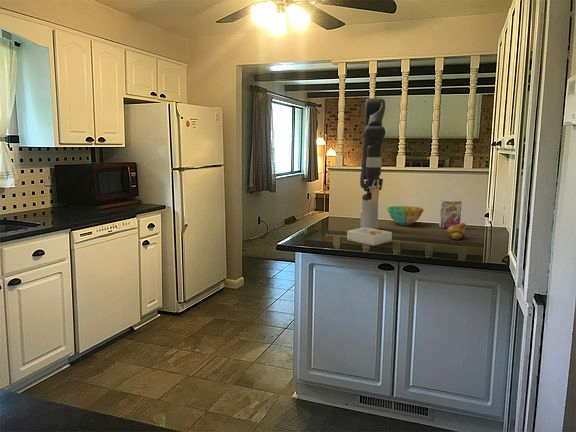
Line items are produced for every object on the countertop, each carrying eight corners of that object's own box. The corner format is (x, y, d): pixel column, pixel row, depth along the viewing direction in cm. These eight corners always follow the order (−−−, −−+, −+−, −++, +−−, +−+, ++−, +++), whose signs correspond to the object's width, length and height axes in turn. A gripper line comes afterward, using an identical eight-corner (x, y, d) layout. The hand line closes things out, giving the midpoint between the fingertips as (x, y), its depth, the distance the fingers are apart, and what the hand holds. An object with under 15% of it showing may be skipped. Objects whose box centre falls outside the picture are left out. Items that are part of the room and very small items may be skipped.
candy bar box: (440, 228, 274) (442, 201, 271) (439, 226, 279) (440, 200, 276) (460, 228, 273) (461, 201, 270) (458, 227, 277) (459, 200, 275)
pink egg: (365, 201, 237) (366, 188, 236) (371, 200, 241) (372, 187, 239) (373, 202, 234) (373, 189, 232) (379, 201, 237) (379, 188, 236)
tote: (347, 240, 242) (347, 230, 241) (365, 236, 251) (365, 227, 250) (373, 245, 229) (373, 235, 228) (391, 241, 238) (391, 232, 237)
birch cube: (368, 240, 237) (368, 230, 236) (374, 238, 240) (374, 229, 239) (376, 241, 233) (376, 231, 232) (382, 240, 236) (382, 230, 236)
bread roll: (463, 241, 239) (464, 226, 237) (444, 239, 243) (444, 224, 242) (466, 236, 250) (467, 222, 249) (447, 235, 254) (448, 221, 253)
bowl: (388, 220, 302) (389, 205, 300) (424, 222, 295) (424, 206, 293) (384, 226, 281) (384, 210, 280) (421, 228, 274) (422, 211, 272)
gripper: (376, 165, 241) (375, 197, 244) (358, 166, 232) (357, 199, 235) (388, 165, 236) (386, 198, 239) (370, 167, 227) (369, 201, 229)
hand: (372, 199), depth 237 cm, fingers closed on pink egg, 5 cm apart
